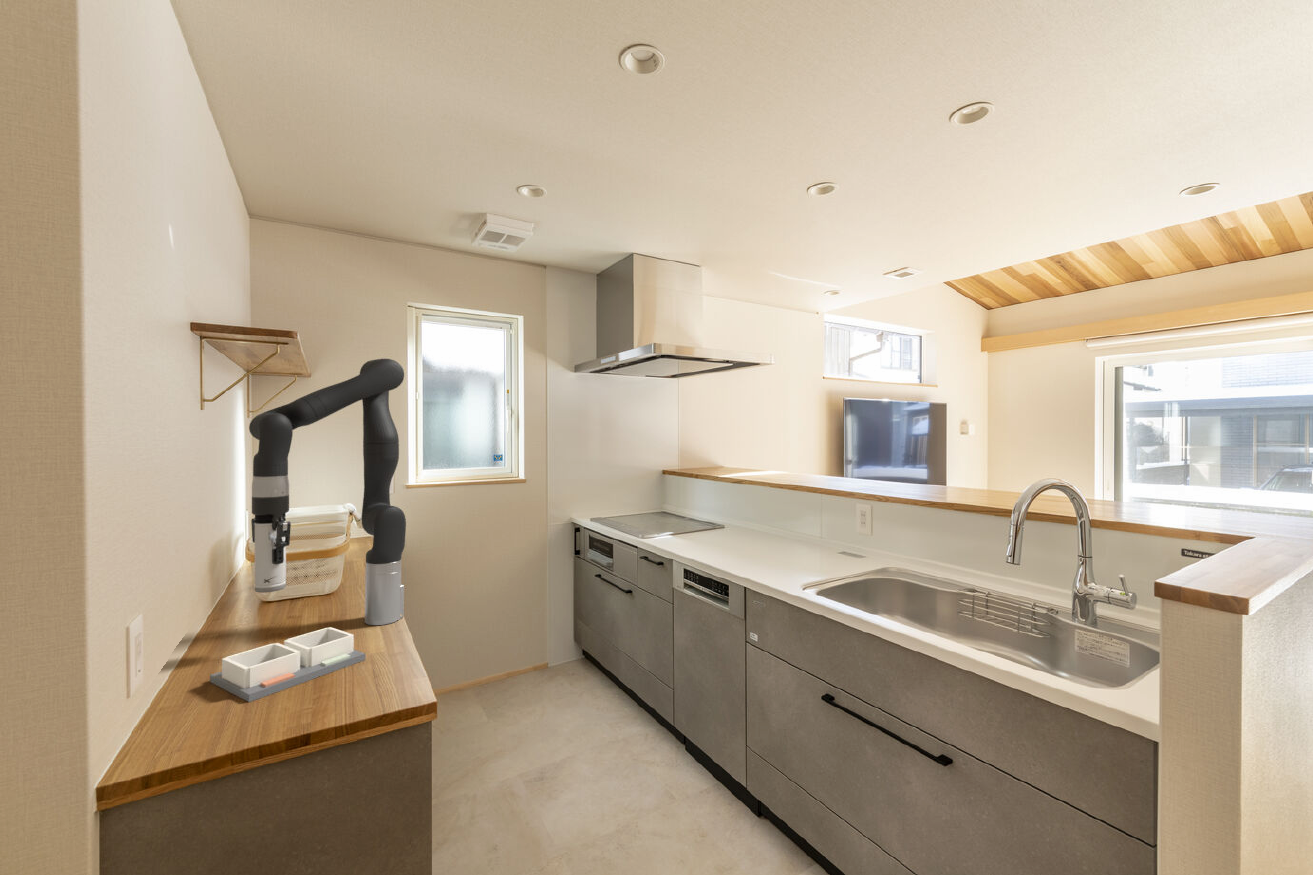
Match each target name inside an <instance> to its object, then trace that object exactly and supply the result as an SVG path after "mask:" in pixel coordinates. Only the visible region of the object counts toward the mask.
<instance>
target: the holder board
mask: <svg viewBox="0 0 1313 875" xmlns="http://www.w3.org/2000/svg"><path fill="white" fill-rule="evenodd" d="M354 645H355V635H354V633H350V632H347V631H344V630H340V629H337V628H335V627H331V626H330V627H325V628H322V629H318V630H315V631H311V632H307V633H304V634H301V635H297V636H294V637H289V638H287V639H286V640H283V644H282V643H279V642H275V643H270V644H269V643H268V644H266V645H262V646H260V647H254V648H252V649H249V650H246V651H242V652H239V653H235V654H232V655H228V656H225V657H223V658H221V671H218V672H216V673H215V672H214V673H213V674H210V675H209V682H210V684H213V685H216V686H217V687H219V688H221V689H223V690H225V691H227V692H228V693H230V694H232V695H235V696H236V697H238V698H240V699H242V700H244V701H246V702H248V703H251V702H254V701H256V700H258V699H262V698H264V697H265V698H266V697H267V696H269V695H273V694H275V693H279V692H280V691H283V690H286V689H289V688H292V687H295V686H297V685H300V684H303V683H306V682H309V681H311V680H314V679H316V678H320V677H322V676H324V675H327V674H330V673H333V672H336V671H338V670H341V669H345V668H347V667H349V666H352V665H355V664H357V663H360V662H363V661H365V660H366V653H365V652H362V651H359V650H356V649H354V647H355V646H354ZM319 676H320V677H319Z"/></svg>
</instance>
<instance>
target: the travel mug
mask: <svg viewBox="0 0 1313 875" xmlns="http://www.w3.org/2000/svg"><path fill="white" fill-rule="evenodd" d="M282 516H283V520H284V522H287V521H286V516H287V513H284V514H283V515H282ZM254 518H255V519H256V520H255V542H254V592H256V593H260V594H261V593H262V594H263V593H264V594H265V593H266V594H267V593H273V592H278V591H281V590H284V589H285V588H286V587H287V581H286V580H287V546H285V547H284V562H283V563H281V564H273V563H272V549H273V548H272V545H271V540H269V532H270V533H271V534H272V535H273V536H276V535H277V530H273V529H272V515H271V514H268V515H254ZM276 528H277V527H276ZM284 540H285V537H284ZM275 541H276V539H275Z"/></svg>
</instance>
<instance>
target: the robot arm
mask: <svg viewBox="0 0 1313 875" xmlns="http://www.w3.org/2000/svg"><path fill="white" fill-rule="evenodd" d="M404 371H405V370H404V368H403V366H402V365H401V364H400V363H399V362H398V361H396V360H394V359H391V358H378V359H372V360H368V361H366V362H364V363H363V365H362V366H361V368H360V370H359V374H358V375H355V376H353V377H351V378H350V379H347V380H343V381H341V382H338V383H335V384H333V385H332V384H331V385H329V386H326V387H323V388H321V389H317V390H315V391H313V392H311V393H308V394H306V395H304V396H301V397H299V398H297V399H295V400H294V401H292V402H289V403H287V404H283V405H281V406H278V407H275V408H272V409H270V410H269V409H268V410H267V411H264V412H262V413H260V414H257V415H256V416H255V417H253V418H252V419H251V421H250V422H249V426H248V429H249V433H250V435H251V436H252V437H253V438H255V440H258V451H257V453H256V454H255V455H254V456H253V459H252V460H253V462H252V482H251V514H252V515H254V516H255V515H268V514H271V515H272V529H273V530H277V535H276V536H273V535H272V534H271V533H270V532H269V540H271V545H272V548H273V549H272V563H273V564H281V563H283V562H284V547H285V546H286V547H288V546H290V544H291V543H290V541H291V538H290V537H291V526H292V524H291V523H292V522H291V521H286V522H284V520H283V516H282V515H283V514H284V513H286V514H287V513H288V512H290V482H289V460H288V458H289V454H290V451H291V445H292V440H293V431H294V430H297V429H298V428H301V427H304V426H305V427H307V426H309V425H312V424H315V423H316V422H319V421H321V420H324V419H325V418H327V417H329V416H331V415H333V414H335V413H337V412H338V411H340V410H343V409H344V408H347V407H348V406H351V405H353V404H355V403H357V402H359V401H362V430H363V431H362V432H363V434H362V436H363V437H362V443H363V444H362V452H363V453H362V455H363V458H362V459H363V498H362V506H361V507H362V508H361V525H362V526H361V527H362V528H363V531H365V532H366V534H368V535H370V536H373V540H372V547H371V549H369V550H367V552H366V553H365V575H364V576H365V581H364V582H365V584H364V585H365V586H364V587H365V588H364V589H365V590H364V592H365V593H364V623H365V624H366V625H369V626H380V625H381V626H383V625H388V624H392V623H395V622H398V621H399V620H400V619H403V618H404V616H405V614H404V613H405V612H404V610H405V609H404V607H405V604H404V603H405V585H404V584H402V554H403V552H404V549H405V547H406V546H405V545H406V530H407V521H406V516H405V513H404V511H403V510H402V509H401V508H400V507H398V506H395V505H391V499H390V498H391V496H390V495H391V494H390V490H391V483H392V480H393V477H394V474H395V471H396V470H397V467H398V464H399V458H400V443H399V442H400V438H399V434H398V430H397V428H396V424H395V422H394V420H393V418H392V415H391V412H390V405H389V404H390V402H389V398H390V397H389V395H390V391H393V390H395V389H397V388H399V387H400V386H401V384H403V381H404V378H405V372H404ZM255 520H256V519H255V517H254V518H251V520H250V521H251V538H252V543H255ZM276 527H277V528H276ZM284 537H285V540H284ZM275 539H276V541H275ZM400 614H401V615H402V617H401V616H400ZM397 620H398V621H397Z"/></svg>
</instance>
